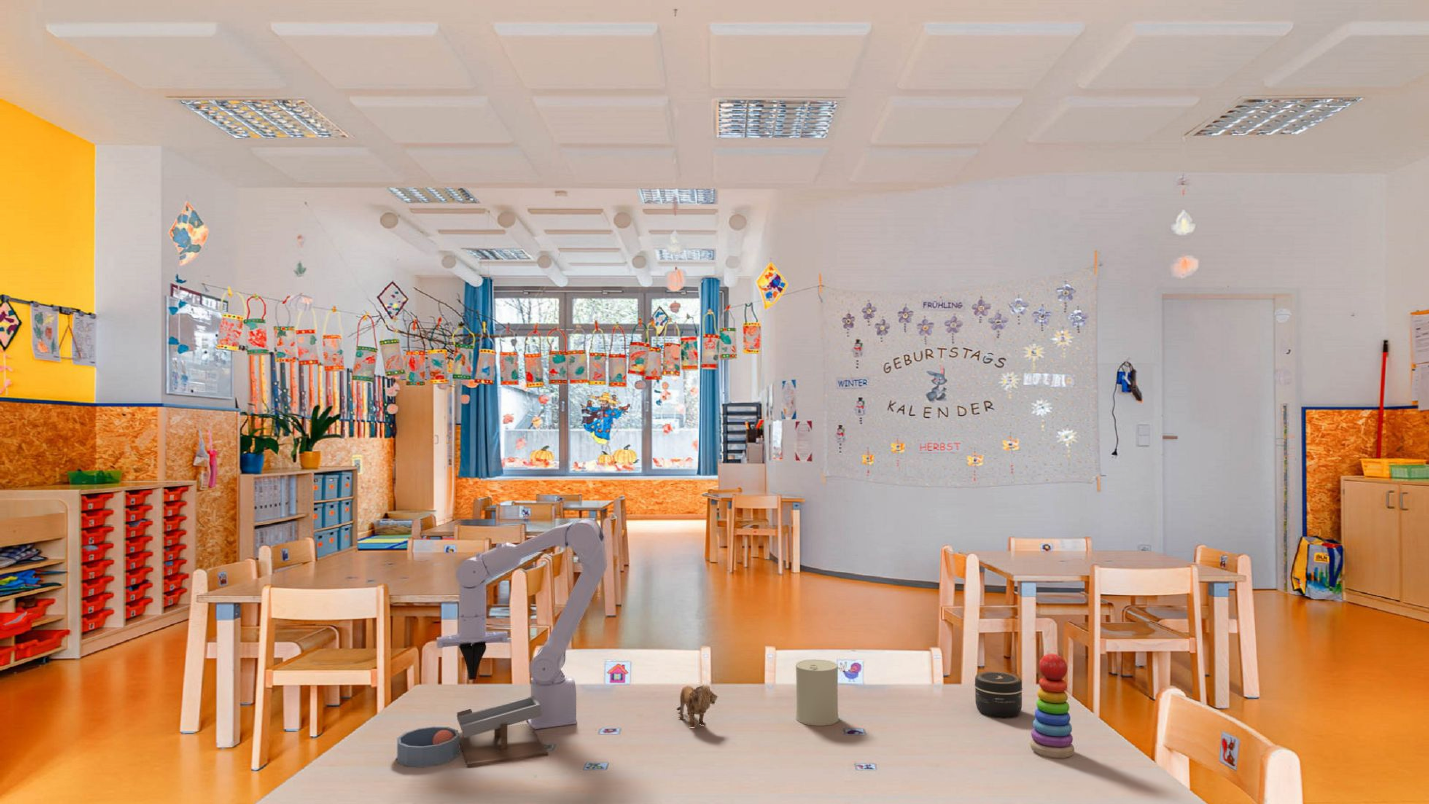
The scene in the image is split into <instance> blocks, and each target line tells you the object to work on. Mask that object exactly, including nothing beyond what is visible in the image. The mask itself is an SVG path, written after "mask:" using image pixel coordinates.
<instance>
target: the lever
mask: <svg viewBox="0 0 1429 804" xmlns="http://www.w3.org/2000/svg"><path fill="white" fill-rule="evenodd" d="M539 716H542V715H541V709H540V704H539V703H538V701H537V700H536V698H535V697H534V696H531V695H530V696H528V697H523V698H521V699H518V700H514V701H509V702H507V703H502V704H500V705H495V706H491V707H488V708H484V709H482V710H478V711H473V710H472V709H471V708H469V709H464V710H462V711H458V712H456V718H457V719H456V720H457V722H458V725H459V727H460V730H461V732H462V733H463V735H464V738H466V737H470V736H473V735H477V734H480V733H484V732H487V731H491V730H494V729H498V728H501V724H505V723H507V726H513V725H516V724H518V723H521V722H522V723H523V722H525V721H527V720H529V719H532V718H536V717H539Z"/></svg>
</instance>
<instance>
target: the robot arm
mask: <svg viewBox="0 0 1429 804" xmlns="http://www.w3.org/2000/svg"><path fill="white" fill-rule="evenodd" d="M605 539H606V538H605V534H604V531H603V530H602V527H601V526H600V524H599V523H598V522H597V521H596V520H594V519H592V518H590V517H584V518H581V519H579V520H578V521H576V522H575V521H572V522H568V523H565V524H561V525H558V526H555V527H553V528H550V529H549V530H546V531H544V532H542V533H539V534H538V535H536V536H534V537H532V538H529V539H527V540H524V541H523V542H520V543H518V544H514V543H511V542H509V541H508V542H505V543H504V542H503V541H501V542H499V543H497V544H495V547H494V548H491V549H489V550H487V551H485V552H482V551H480V552H477V553H475V556H473V557H470V558H467V559H466V560H465V561H462V562H461V563H460V564H459V565H458V566H457V568H456V570H455V577H456V580H457V582H458V585H459V586H458V633H456V634H451V635H446V636H445V635H444V636H439V637H436V647H437V648H436V649H443V648H448V647H449V648H450V647H457V646H458V648H459V649H460V652H461V654H462V657H463V660H464V663H465V666H466V670H467V676H468V680H470V681H473V680H476V679H477V675H478V671H479V667H480V663H481V661H482V659H483V656H484V655H485V653H486V650H487V644H491V643H499V642H500V643H501V642H502V643H507V642H508V631H506V630H504V631H503V630H502V631H500V630H499V631H487V579H493V578H495V577H497V576H501V575H502V574H505V573H508V572H509V571H512V570H513V569H517V568H518V567H519V565H520V563H521V560H522V559H524V558H526V557H529V556H531V555H534V554H536V553H539V552H542V551H544V550H546V549H549V548H553V547H555V546H556V547H558V548H559V547H560V548H564V549H567V547H568V546H569V547H570V549H571V550H572V551H573V552H574V553H575V554H576V555H577V558H578V560H579V562H580V564H581V567H582V571H581V573H580V574H579V576H578V578H577V580H576V582H575V584H574V586H573V589H572V590H571V592H570V594H569V596H568V598H567V600H566V602H565V604H564V607H563V608H562V611H561V612H560V614H559V617H558V618H557V620H556V621H555V625H554V626H553V628H552V631H551V632H550V635H549V636H548V638H547V640H546V642H545V644H544V645H543V646H541V647H540V648H539V650H538V651H537V654H536V655H535V656H534V657H532V660H531V661H530V662H529V669H528V671H529V675H530V676H531V677H530V697H531V696H534V697H535V698H536V700H537V701H538V703H539V704H540V709H541V715H542V716H539V717H536V718H532V719H529V720H526V721H527V724H528V723H530V724H531V726H532V727H533V729H534V730H538V729H539V730H540V729H545V728H546V729H547V728H552V727H561V726H567V725H568V726H570V725H574V724H575V725H576V724H578V721H577V687H576V686H577V685H576V681H575V679H574V678H573V677H566V675H565V673H564V672H563V670H561V669H562V668H563V667H564V665H565V663H566V658H567V657H566V655H567V654H566V652H567V650H568V648H569V645H570V644H571V641H572V638H573V637H574V634H575V633H576V631H577V629H578V626H579V625H580V622H581V620H582V618H583V617H584V614H585V613H586V611H587V608H588V607H589V604H591V600H592V598H593V597H594V594H595V592H596V591H597V588H598V586H599V585H600V583H601V581H602V578H603V576H604V574H605V572H606V571H607V569H608V568H607V567H608V560H607V553H606V552H607V551H606V543H605Z"/></svg>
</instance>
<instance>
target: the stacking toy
mask: <svg viewBox="0 0 1429 804" xmlns="http://www.w3.org/2000/svg"><path fill="white" fill-rule="evenodd" d="M1038 664H1039V671H1040V673H1041V675H1042V677H1041V678H1040V679H1039V681H1038V684H1039V689H1038V690H1037V691H1036V692H1037V693H1036V695H1037V696H1038V699H1036V707H1037V708H1036V709H1035V711H1034V717H1035V719H1034V720H1033V722H1032V727H1033V728H1032V729H1031V733H1030V736H1031V738H1032V739H1031V740H1030V743H1029V746H1030V748H1031V750H1032V751H1033V752H1034V753H1036V754H1038V755H1041V756H1043V757H1047V758H1051V759H1065V758H1069V757H1071V756H1073V754H1074V753H1075V747H1074V745H1073V740H1074V738H1073V735H1072V732H1073V726H1072V724H1071V723H1070V722H1071V715H1070V713H1069V712H1070V711H1069V710H1070V704H1069V702H1068V699H1069V696H1068V695H1069V694H1068V693H1067V692H1066V690H1067V689H1068V684H1067V682H1066V681H1065V679H1064V677H1065V676H1066V675H1067V672H1068V664H1067V662H1066V660H1065V659H1064V658H1063V657H1062V656H1060V655H1058V654H1056V653H1048V654H1045V655H1044V656H1042V658H1040V660H1039V663H1038Z"/></svg>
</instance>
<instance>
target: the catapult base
mask: <svg viewBox="0 0 1429 804" xmlns="http://www.w3.org/2000/svg"><path fill="white" fill-rule="evenodd" d="M458 733H459V749H460V750H461V753H462V755H463V760H464V761H465V764H466V767H467V768H472V767H479V766H486V765H491V764H493V765H494V764H498V763H505V762H506V763H507V762H511V761H512V762H513V761H517V760H527V759H531V758H532V759H533V758H539V757H545V756H549V751H548V750H547V748H546V746H545V745H544V743H543V742H542V740H541V738H540V737H539V735H538V734H537V732H536V731H535V729H533V727H532V726H531V724H530V723H528V722H527V723H521V724H512V725H508V726H507V723H505V724H501V728H498V729H494V730H491V731H487V732H484V733H480V734H477V735H473V736H470V737H466V738H464V735H463V733H462V731H460V732H458Z"/></svg>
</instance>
